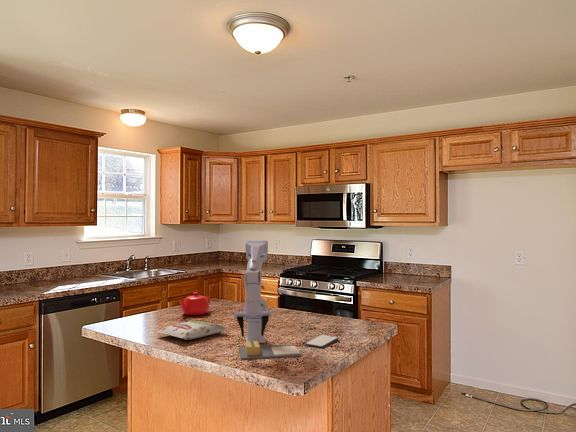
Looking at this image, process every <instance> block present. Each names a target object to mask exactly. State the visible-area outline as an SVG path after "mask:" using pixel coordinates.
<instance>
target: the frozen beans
mask: <svg viewBox="0 0 576 432" xmlns="http://www.w3.org/2000/svg"><path fill="white" fill-rule="evenodd" d="M227 329H229V327H227V326H224V325H220V324H217V323H211V322H207V321H201V320H192V321H186V322H181V323H177V324H176V323H175V324H173V325H169V326H167V327H164V328H161V329H158V331H156V333H160V334H162V335H166V336H171V337H174V338H178V339H183V340H185V341H188V340H189V341H190V340H195V339H198V338H199V339H200V338H205V337H207V336H208V337H209V336H211V335H214V334H218V333H222V332H223V331H225V330H227Z"/></svg>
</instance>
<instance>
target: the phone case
mask: <svg viewBox="0 0 576 432" xmlns="http://www.w3.org/2000/svg"><path fill="white" fill-rule="evenodd" d="M338 341H339V337H338V336H335V335H328V334H320V335H319V336H316V337H315V338H313V339H310V340H309V341H307V342H305V343H304V345H305V346H306V347H309V348H316V349H321V348H322V349H325V348H327V347H329V346H331V345H332V343H333V344H335V343H336V342H338ZM334 342H335V343H334ZM330 344H331V345H330ZM328 345H329V346H328ZM326 346H327V347H326ZM324 347H325V348H324Z"/></svg>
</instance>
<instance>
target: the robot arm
mask: <svg viewBox="0 0 576 432" xmlns="http://www.w3.org/2000/svg"><path fill="white" fill-rule="evenodd" d="M268 252H269V241H268V240H267V239H265V240H263V239H262V240H259V239H257V240H251V239H250V240H249V239H247V240H246V241H245V256H246V260H247V265H246V271H244V275H243V278H244V280H243V282H244V289H245V301H244V307H243V311H235V312H233V319H236V321H237V323H238V325H239V328H240V332H241V337H242V338H243V337H245V340H246V341H245V342H248V341H258V343H259V344H265V343H267V342H266V339H265V338H264V337H265V334H264V333H265V329H266V327H267V324H268V322H269V320H270V318H272V311H271V310H268V305H267V304H268V303H267V301H266V300H265V299H264V298H263V297H262V269H263V268H262V267H263V264H264V261H266V260H268V255H269V254H268ZM244 320H246V323H247V327H246V328H247V330H246V336H245V330H244V325H245V321H244Z"/></svg>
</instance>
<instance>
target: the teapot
mask: <svg viewBox="0 0 576 432" xmlns="http://www.w3.org/2000/svg"><path fill="white" fill-rule="evenodd" d="M192 294H193V295H188V296H186V297H185V298H184V299H183V300H178V302H179V303H180V309H181V311H182V313H183V314H184V315H186V316H188V315H200V316H203V315H202V314H204V315H205V313H206V314H207V313H208V312H209V311H210V308H211V307H210V302H211V297H209V296H204V295H198V294H199V292H197V291H194V292H193V293H192Z"/></svg>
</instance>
